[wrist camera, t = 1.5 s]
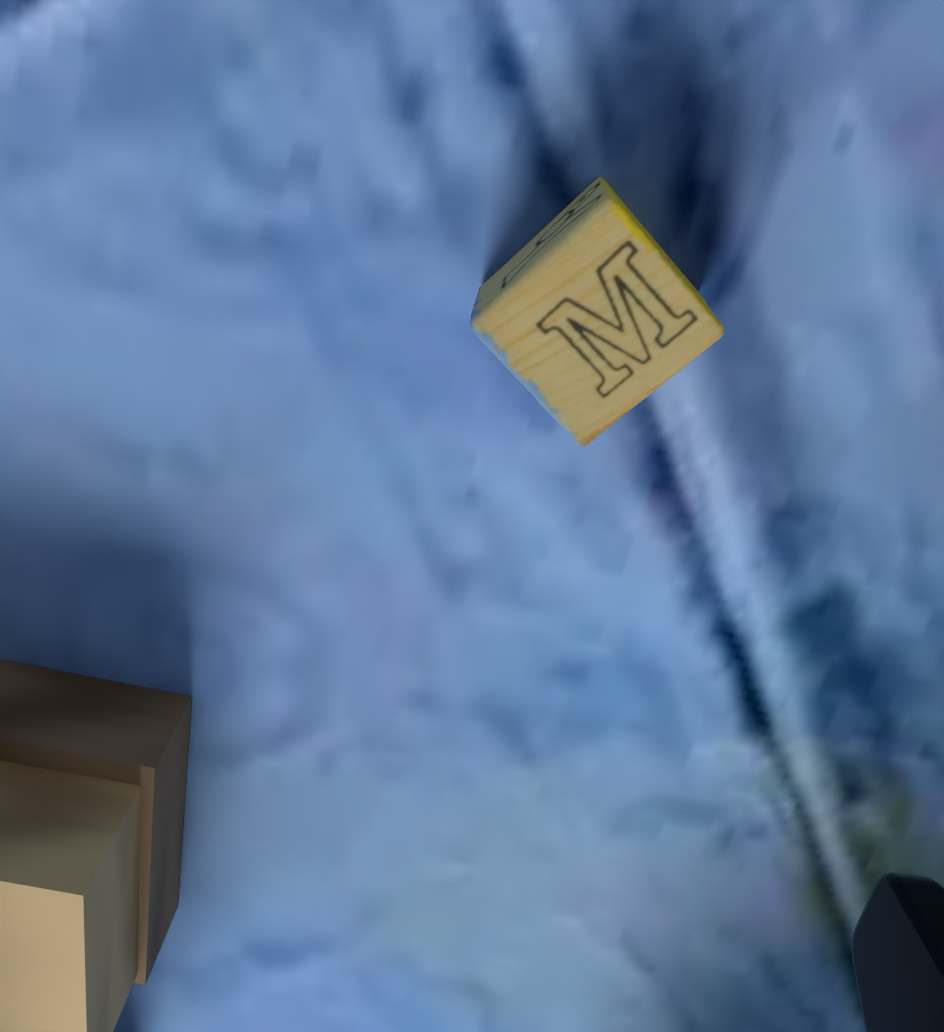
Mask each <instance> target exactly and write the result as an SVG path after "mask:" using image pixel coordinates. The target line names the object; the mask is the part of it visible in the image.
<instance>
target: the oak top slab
mask: <svg viewBox="0 0 944 1032" xmlns="http://www.w3.org/2000/svg"><path fill="white" fill-rule="evenodd" d="M140 809H141V786H139V785H133V784H128V783H123V782H117V781H112V780H106V779H101V778H95V777H90V776H84V775H79V774H73V773H68V772H62V771H57V770H51V769H46V768H40V767H35V766H29V765H24V764H18V763H13V762H7V761H2V760H0V1032H113V1031H114V1029H115V1026H116V1024H117V1022H118V1019H119V1017H120V1014H121V1012H122V1010H123V1007H124V1005H125V1003H126V1000H127V998H128V996H129V993H130V991H131V988H132V986H133V984H134V981H135V979H136V977H137V958H138V909H139V859H140Z"/></svg>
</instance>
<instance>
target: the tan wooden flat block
mask: <svg viewBox="0 0 944 1032" xmlns="http://www.w3.org/2000/svg"><path fill="white" fill-rule="evenodd" d="M191 707H192V697H191V696H186V695H181V694H176V693H171V692H166V691H161V690H156V689H151V688H145V687H140V686H135V685H130V684H125V683H120V682H115V681H110V680H105V679H99V678H94V677H89V676H84V675H79V674H74V673H69V672H64V671H59V670H53V669H48V668H43V667H38V666H33V665H28V664H23V663H18V662H13V661H7V660H2V659H0V760H2V761H7V762H13V763H18V764H24V765H29V766H35V767H40V768H46V769H51V770H57V771H62V772H68V773H73V774H79V775H84V776H90V777H95V778H101V779H106V780H112V781H117V782H123V783H128V784H133V785H139V786H141V809H140V859H139V909H138V958H137V977H136V979H135V981H134V983H137V984H142V985H145V984H146V982H147V980H148V977H149V975H150V972H151V970H152V968H153V965H154V963H155V960H156V958H157V955H158V953H159V951H160V948H161V946H162V943H163V941H164V939H165V936H166V934H167V931H168V929H169V926H170V924H171V922H172V919H173V917H174V914H175V912H176V910H177V907H178V900H179V885H180V871H181V856H182V841H183V826H184V811H185V796H186V782H187V767H188V752H189V737H190V722H191Z"/></svg>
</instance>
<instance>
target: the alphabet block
mask: <svg viewBox="0 0 944 1032" xmlns="http://www.w3.org/2000/svg"><path fill="white" fill-rule="evenodd" d="M470 324H471V328H472V329H473V331H474V332H475V333H476V335H477V336H478V337H479V339H480V340H481V341H482V342H483V343H484V344H485V345H486V346H487V347H488V348H489V349H490V350H491V352H492V353H493V354H494V355H495V356H496V357H497V358H498V359H499V360H500V361H501V362H502V363H503V364H504V365H505V366H506V367H507V369H509V371H510V372H511V373H512V374H513V375H514V376H515V377H516V378H517V379H518V380H519V381H520V382H521V383H522V385H523V386H524V387H525V388H526V389H527V390H528V391H529V392H530V393H531V394H532V395H533V396H534V397H535V398H536V399H537V400H538V402H539V403H540V404H541V405H542V406H543V407H544V408H545V409H546V411H547V412H548V413H549V414H550V415H551V416H552V417H553V418H554V419H555V420H556V421H557V422H558V423H559V424H560V425H561V426H562V427H563V428H564V429H565V430H566V431H567V433H568V434H569V435H570V437H571V438H572V439H573V440H574V441H575V442H576V443H577V444H578V445H579V446H580V447H583V446H585V445H587V444H589V443H590V442H591V441H592V440H594V439H595V438H596V437H597V436H598V435H599V434H601V433H602V432H603V431H605V430H606V429H607V428H608V427H610V426H611V425H612V424H613V423H614V422H616V421H617V420H618V419H619V418H621V417H622V416H623V415H624V414H626V413H627V412H628V411H629V410H631V409H632V408H633V407H634V406H636V405H637V404H638V403H640V402H641V401H642V400H643V399H645V398H646V397H647V396H648V395H650V394H651V393H652V392H653V391H655V390H656V389H657V388H658V387H660V386H661V385H662V384H663V383H665V382H666V381H667V380H668V379H670V378H671V377H672V376H673V375H675V374H676V373H677V372H679V371H680V370H681V369H682V368H684V367H685V366H686V365H687V364H688V363H690V362H691V361H692V360H693V359H695V358H696V357H697V356H698V355H700V354H701V353H703V352H704V351H705V350H706V349H707V348H709V347H710V346H711V345H712V344H714V343H715V342H716V341H717V340H719V339H720V338H721V337H722V336H723V335H724V332H725V331H724V327H723V326H722V324H721V323H720V321H719V320H718V319H717V317H716V316H715V314H714V313H713V312H712V310H711V309H710V308H709V306H708V305H707V303H706V302H705V300H704V299H703V298H702V296H701V295H700V294H699V292H698V291H697V290H696V288H695V287H694V286H693V285H692V284H691V282H690V281H689V280H688V279H687V278H686V277H685V275H684V274H683V273H682V272H681V270H680V269H679V268H678V267H677V266H676V264H675V263H674V262H673V261H672V260H671V259H670V258H669V256H668V255H667V254H666V253H665V251H664V250H663V249H662V248H661V247H660V245H659V244H658V243H657V242H656V241H655V239H654V238H653V237H652V236H651V234H650V233H649V232H648V231H647V230H646V228H645V227H644V226H643V225H642V224H641V223H640V222H639V220H638V219H637V218H636V216H635V215H634V214H633V213H632V212H631V211H630V209H629V208H628V207H627V206H626V205H625V203H624V202H623V201H622V200H621V199H620V198H619V196H618V195H617V194H616V193H615V191H614V190H613V189H612V188H611V186H610V185H609V184H608V182H607V181H606V180H605V179H604V178H602V177H598V178H597V179H596V180H595V181H594V182H592V183H591V184H590V185H589V186H588V187H587V188H586V189H585V190H584V191H583V192H582V193H581V194H580V195H579V196H577V197H576V198H575V199H574V200H573V201H572V202H571V203H570V204H569V205H568V206H567V207H566V208H565V209H564V210H563V211H562V212H560V213H559V214H558V215H557V216H556V217H555V218H554V219H553V220H552V221H551V222H550V223H549V224H548V225H547V226H546V227H545V228H544V229H542V230H541V231H540V232H539V233H538V234H537V235H536V236H535V237H534V238H533V239H532V240H531V241H530V242H529V243H528V244H526V245H525V246H524V247H523V248H522V249H521V250H520V251H519V252H518V253H517V254H515V255H514V256H513V257H512V258H511V259H510V260H509V261H508V262H507V263H506V264H505V265H504V266H503V267H502V268H500V269H499V270H498V271H497V272H496V273H495V274H494V275H493V276H492V277H491V278H490V279H489V280H487V281H486V282H485V283H483V284H482V285H481V287H480V288H479V291H478V294H477V298H476V301H475V304H474V307H473V310H472V314H471V320H470Z"/></svg>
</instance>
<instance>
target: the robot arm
mask: <svg viewBox="0 0 944 1032" xmlns="http://www.w3.org/2000/svg"><path fill="white" fill-rule="evenodd" d="M852 958H853V964H854V970H855V975H856V980H857V986H858V991H859V997H860V1002H861V1007H862V1013H863V1018H864V1023H865V1029H866V1032H944V888H943V887H942V886H941V885H939V884H938V883H937V882H935V881H934V880H932V879H930V878H927V877H923V876H914V875H905V874H896V873H887V874H884V875H883V876H881V877H880V878H879V879H878V881H877V882H876V884H875V886H874V888H873V890H872V893H871V895H870V897H869V899H868V901H867V904H866V906H865V908H864V910H863V912H862V915H861V917H860V919H859V921H858V923H857V926H856V928H855V931H854V934H853V939H852Z"/></svg>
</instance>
